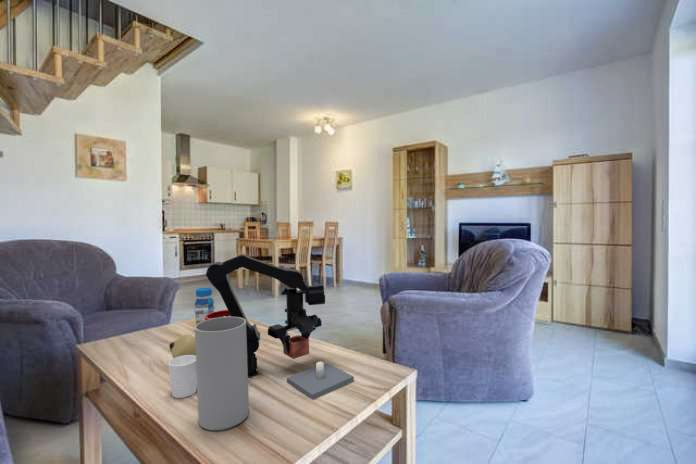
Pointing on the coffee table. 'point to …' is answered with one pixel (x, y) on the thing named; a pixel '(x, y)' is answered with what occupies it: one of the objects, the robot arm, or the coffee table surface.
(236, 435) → the coffee table surface
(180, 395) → the white cup
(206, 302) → the beverage bottle
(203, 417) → the cylinder vase
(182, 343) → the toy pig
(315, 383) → the flat gray board
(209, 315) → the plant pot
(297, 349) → the red square tube
